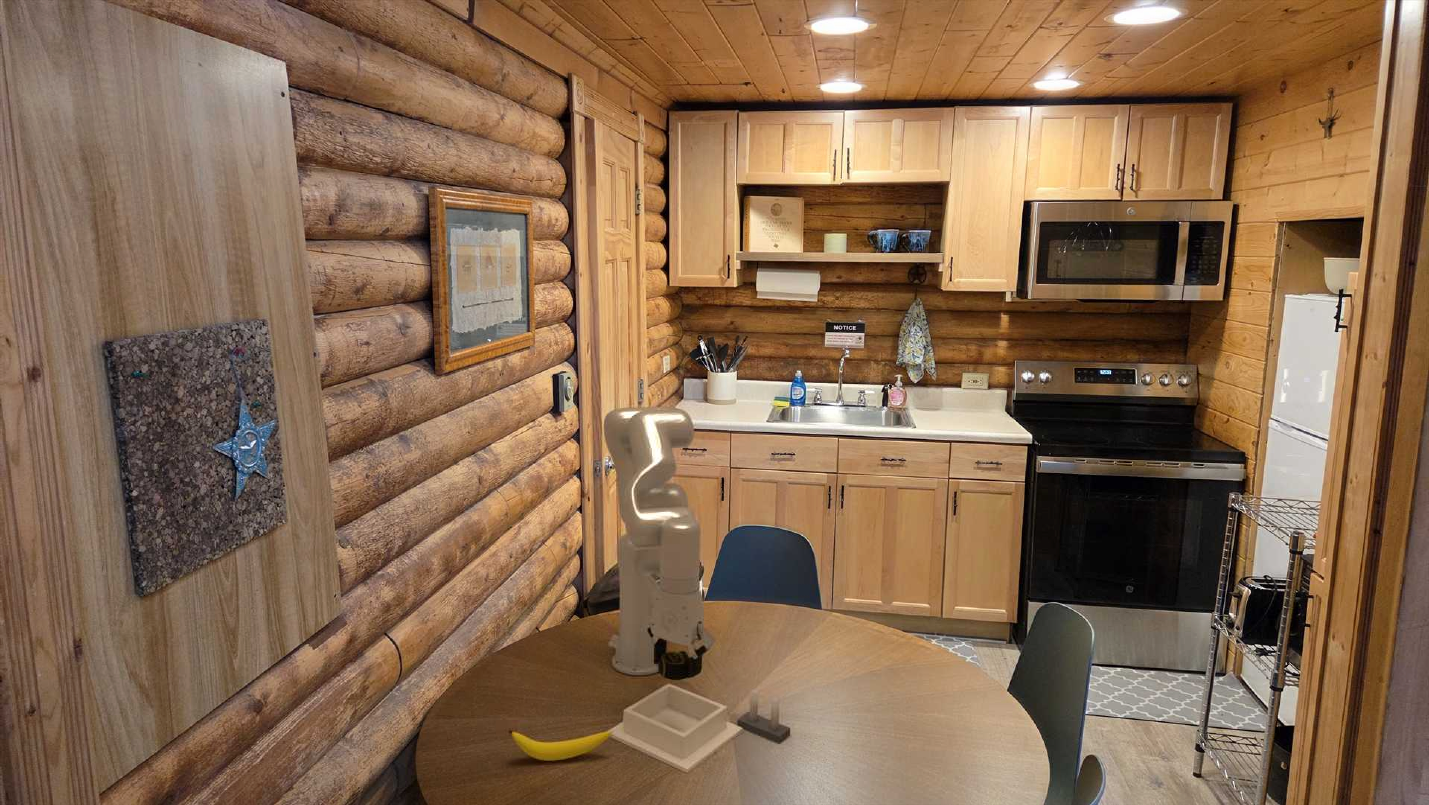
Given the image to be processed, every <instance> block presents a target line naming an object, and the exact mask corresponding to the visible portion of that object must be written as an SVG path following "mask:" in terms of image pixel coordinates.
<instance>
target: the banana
mask: <svg viewBox="0 0 1429 805" xmlns="http://www.w3.org/2000/svg"><path fill="white" fill-rule="evenodd" d="M612 733H613V731H610V732H609V731H608V730H606V731H603V732H602V731H601V732H599V733H595V734H591V735H587V736H584V737H581V738H575V739H569V740H561V741H554V742H553V741H548V742H547V741H546V742H544V741H537V740H534V739H531V738H529V737H527V736H525V735H523V734H522V733H519V732H514V731H512V729H508V734H511V736H512V738H513V740H514V741H515V743H516V744H517V746H519V749H521V750H522V751H523V752H524V753H526V754H527V755H529V756H530V757H531V758H533V759H536V760H540V761H546V762H548V761H549V762H550V761H553V762H554V761H561V760H566V759H570V758H571V759H572V758H574V757H577V756H580V755H583V754H584V753H588V752H590V751H591V750H594V749H596V747H598V746H600V745H601V744H603V743H605V741H606V740H608V739H609V738H610V737H609V736H610V735H611V734H612Z"/></svg>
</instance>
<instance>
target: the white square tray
mask: <svg viewBox="0 0 1429 805" xmlns="http://www.w3.org/2000/svg"><path fill="white" fill-rule="evenodd" d="M622 719H623V720H622V722H620V723H618V724H617V725H615V726H613V727H612V728H610V729H608V730H607V731H609V732H610V731H613V733H612V734H611V735H610V736H609V738H612V739H613V740H616V741H618V742H620V743H622V744H624V745H625V746H629V747H631V748H633V749H634V750H637V751H639V752H641V753H643V754H645V755H647V756H650V757H651V758H654V759H656V760H658V761H660V762H662V763H664V764H666V765H669V766H671V767H673V768H675V769H677V770H679V771H681V772H684V773H685V774H689V773H690V772H692V771H693V770H694V769H695V768H697V767H698V766H700V765H701V763H703V762H704V761H706V760H707V759H709V758H710V757H712V755H713V754H715V753H716V752H718V751H719V750H721V749H722V748H723V747H725V746H726V745H727V744H728V743H730V742H731V741H732V740H733V739H735V738H736V737H737V736H739V735H741V734H742V733H743V731H744V729H743V728H742V727H739V726H737V725H736V724H734V723H732V722H729V721H728V706H727V705H724V704H721V703H719V702H716V701H714V700H711V699H709V698H706V697H704V696H702V695H699V694H696V693H695V692H694V693H693V692H692V691H689V690H687V689H684V688H681V687H679V686H676V685H673V684H672V683H667V684H665V685H663V686H662V687H660V688H658V689H656V690H655V691H653V692H652V693H649V695H647V696H645V697H644V698H642V699H640V700H638V701H637V702H635V703H633V704H632V705H629V706H628V707H627V708H625V709H623V718H622Z"/></svg>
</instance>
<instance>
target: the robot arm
mask: <svg viewBox="0 0 1429 805" xmlns="http://www.w3.org/2000/svg"><path fill="white" fill-rule="evenodd" d="M694 430H695V428H694V424H693V420H692V418H691V416H690V414H689V413H688V412H686V411H685V410H684V409H680V408H677V407H673V406H651V407H650V406H643V407H641V406H639V407H638V406H636V407H621V408H616V409H613V410H610V411H609V412H608V413H606V415H605V417H604V421H603V435H604V441H605V444H606V445H605V446H606V447H607V451H608V452H609V456H610V457H611V460H612V462H613V465H614V468H615V475H616V476H615V477H616V487H617V488H616V489H617V499H618V500H617V501H618V509H619V515H620V518H621V521H622V522H623V523H624V526H625V531H626V533H624V534H623V535H622V536H621V537H619V539H618V541H617V543H616V558H617V564H618V573H619V574H618V575H619V628H618V629H619V635H617V634H612V636H611V639H610V641H608V644H607V646H608V647H610V648H613V649H615V654H613V655H612V658H611V660H612V662H611V663H612V666H613V668H614V669H616V670H617V671H618V672H620V673H622V674H624V675H625V674H626V675H630V676H631V675H632V676H647V675H653V674H656V673H659V670H658V662H659V659H660V657H661V656H662V655H663V654H665V653H668V652H667V649H668V648H667V646H668V644H667V643H668V642H669V643H672V644H675V645H678V646H681V647H684V648H685V647H686V648H688V650H689V653H690V655H691V656H689V677H690V679H691V678H694V677H696V676H697V675H699V674H701V672H702V669H703V655H705V654H706V653H707V652H708V651H709V650H710V649H711V648H712V647H713V645H714V643H715V642H716V640H715V638H714V637H713V635H712V634H711V633H710V632H709V631H708V630H707V628H706V627H705V614H704V611H705V610H704V601H703V596H702V591H701V590H700V562H701V561H700V560H701V559H700V557H701V556H700V554H701V552H700V551H701V525H700V523H699V520H698V516H697V514H695V512H694V510H692V509H691V508H690V506H689V500H688V496H687V494H686V491H685V489H684V488H683V487H682V485H680V484H678V483H675V482H669V481H670V480H671V479H673V477H674V475H675V473H677V463H676V460H675V456H674V453H673V449H678V448H681V449H682V448H687V447H690V445H691V444H692V443H693V441H694V437H695V436H694V435H695V431H694ZM652 574H656V577H657V578H659V583H658V581H656V579H655V578H653V576H652ZM702 642H703V643H702Z"/></svg>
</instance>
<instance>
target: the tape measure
mask: <svg viewBox="0 0 1429 805" xmlns="http://www.w3.org/2000/svg"><path fill="white" fill-rule="evenodd" d="M689 658H690V656H689V655H688V653H687V652H686V651H685V650H682V651H681V650H680V651H669V652H667V653H665V654H663V655H662V656H661V657H660V659H659V662H658V670H659V671H658V673H659V675H660V676H662V677H663V678H664V679H667V680H670V681H682V680H687V679H691V677H689Z"/></svg>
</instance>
